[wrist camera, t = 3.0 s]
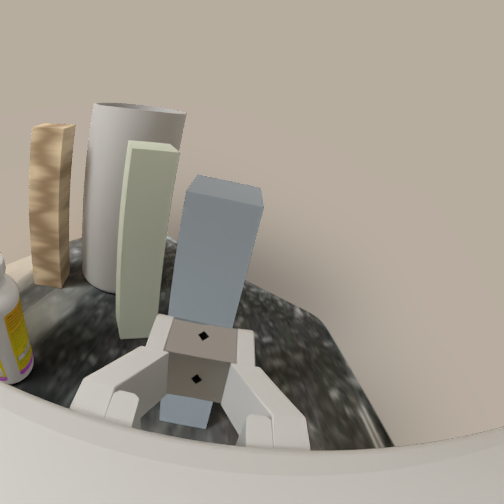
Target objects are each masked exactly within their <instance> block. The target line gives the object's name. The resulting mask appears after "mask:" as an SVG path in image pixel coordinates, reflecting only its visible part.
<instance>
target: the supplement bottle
mask: <svg viewBox="0 0 504 504" xmlns="http://www.w3.org/2000/svg"><path fill="white" fill-rule="evenodd" d="M5 269H6V268H5V262H4V257H3V255H2V253H0V381H2V382H4V383H6V384H14V383H17V382H20V381H21V380H23V379H24V378H26V377H27V376H28V375H29V373H30V372H31V370H32V367H33V363H34V357H33V352H32V348H31V345H30V341H29V337H28V333H27V329H26V324H25V320H24V315H23V311H22V306H21V301H20V295H19V291H18V287H17V285H16V283H15V281H14V280H13V279H12V278H11V277H10V276H9V275H7V274H5Z"/></svg>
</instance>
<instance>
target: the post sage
mask: <svg viewBox="0 0 504 504" xmlns="http://www.w3.org/2000/svg"><path fill="white" fill-rule="evenodd" d="M179 156H180V152H179V151H178V150H177V149H176V148H174V147H173V146H172V145H171V144H165V143H155V142H144V141H132V140H128V146H127V153H126V160H125V168H124V176H123V185H122V194H121V204H120V216H119V229H118V245H117V267H116V319H117V325H118V331H119V336H120V339H132V338H148V337H149V335H150V333H151V330H152V327H153V324H154V322H155V319H156V317H157V315H158V307H159V297H160V287H161V278H162V269H163V260H164V252H165V245H166V237H167V229H168V223H169V216H170V209H171V203H172V197H173V190H174V184H175V178H176V173H177V167H178V161H179Z"/></svg>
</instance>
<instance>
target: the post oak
mask: <svg viewBox="0 0 504 504" xmlns="http://www.w3.org/2000/svg"><path fill="white" fill-rule="evenodd" d="M75 126H76V125H70V124H53V123H45V124H42V125H38V126H35V127H32V135H31V148H30V170H29V218H30V219H29V220H30V240H31V253H32V264H33V273H34V282H35V284H38V285H44V286H50V287H56V288H62V287H63V285H64V283H65V281H66V279H67V277H68V275H69V273H70V260H69V198H70V178H71V164H72V153H73V143H74V134H75Z"/></svg>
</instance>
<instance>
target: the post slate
mask: <svg viewBox="0 0 504 504" xmlns="http://www.w3.org/2000/svg"><path fill="white" fill-rule="evenodd" d="M263 208H264V206H263V199H262V193H261V189H260V188H258V187H254V186H249V185H244V184H240V183H236V182H231V181H226V180H221V179H217V178H212V177H207V176H202V175H197V176H196V177H195V179H194V180H193V182H192V183H191V185H190V187H189V188H188V189H187V191H186V195H185V201H184V206H183V212H182V219H181V224H180V231H179V237H178V244H177V251H176V257H175V265H174V272H173V279H172V287H171V295H170V303H169V312H168V316H173V317H178V318H182V319H187V320H192V321H196V322H201V323H206V324H211V325H216V326H222V327H228V328H232V327H233V323H234V320H235V316H236V312H237V308H238V304H239V300H240V297H241V293H242V289H243V285H244V281H245V278H246V274H247V270H248V266H249V262H250V258H251V255H252V251H253V247H254V243H255V239H256V236H257V232H258V228H259V224H260V220H261V216H262V213H263ZM212 404H213V402H212V401H206V400H201V399H196V398H190V397H184V396H178V395H172V394H166V396H165V397H163V398H162V399H161V402H160V420H161V421H166V422H170V423H175V424H180V425H186V426H191V427H197V428H203V429H206V426H207V423H208V419H209V415H210V411H211V407H212Z"/></svg>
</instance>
